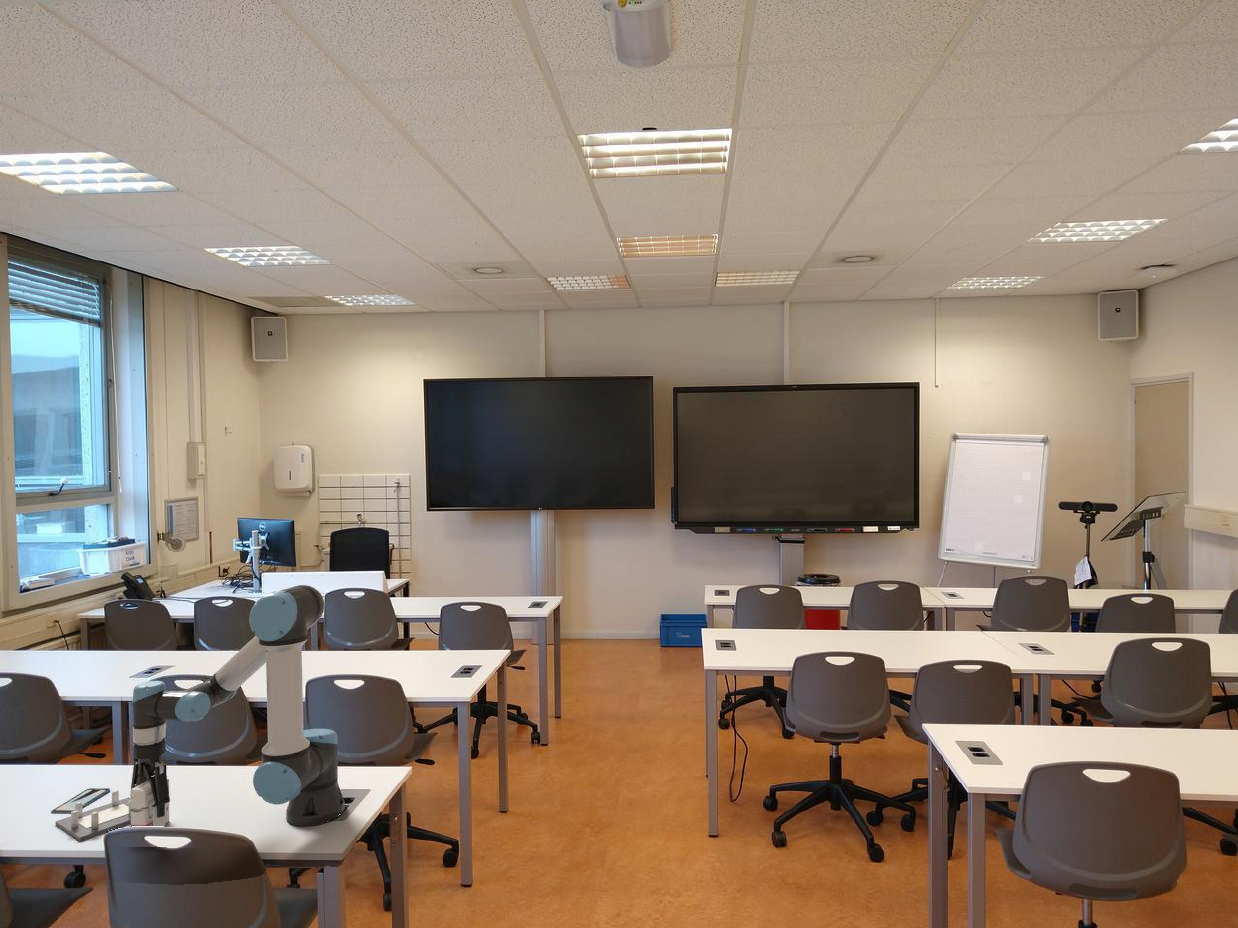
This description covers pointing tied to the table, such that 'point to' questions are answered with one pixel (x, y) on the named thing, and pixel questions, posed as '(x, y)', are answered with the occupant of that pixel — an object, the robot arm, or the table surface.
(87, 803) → the smartphone
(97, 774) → the table surface
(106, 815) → the pin tray
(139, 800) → the ink box
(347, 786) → the table surface
